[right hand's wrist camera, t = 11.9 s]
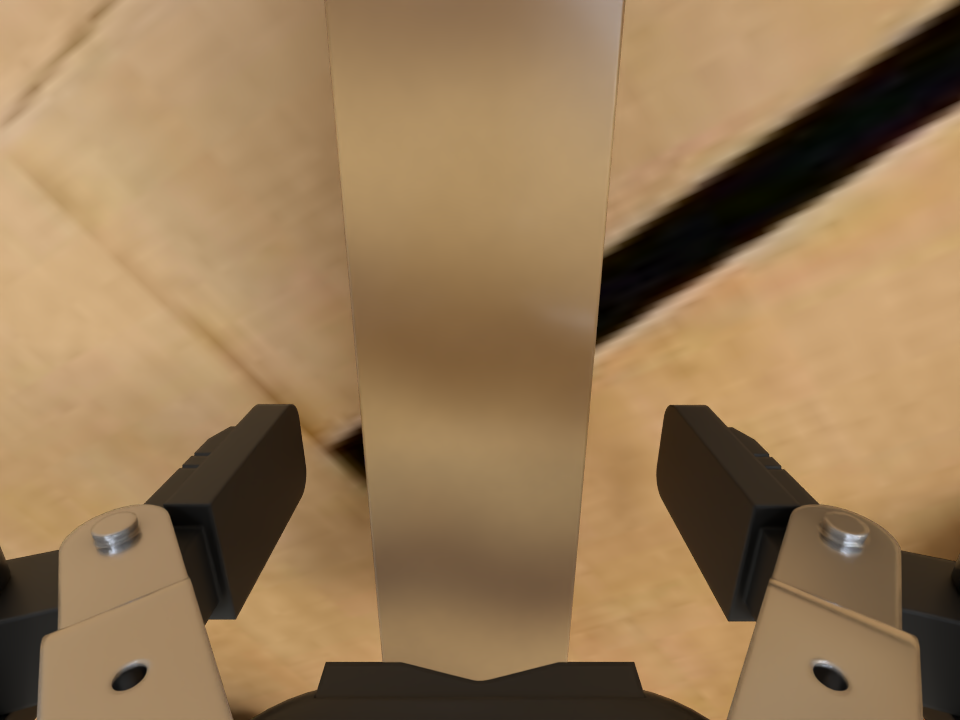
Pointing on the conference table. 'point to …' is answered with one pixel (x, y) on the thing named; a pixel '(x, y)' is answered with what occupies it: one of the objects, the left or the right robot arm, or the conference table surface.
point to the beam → (474, 308)
